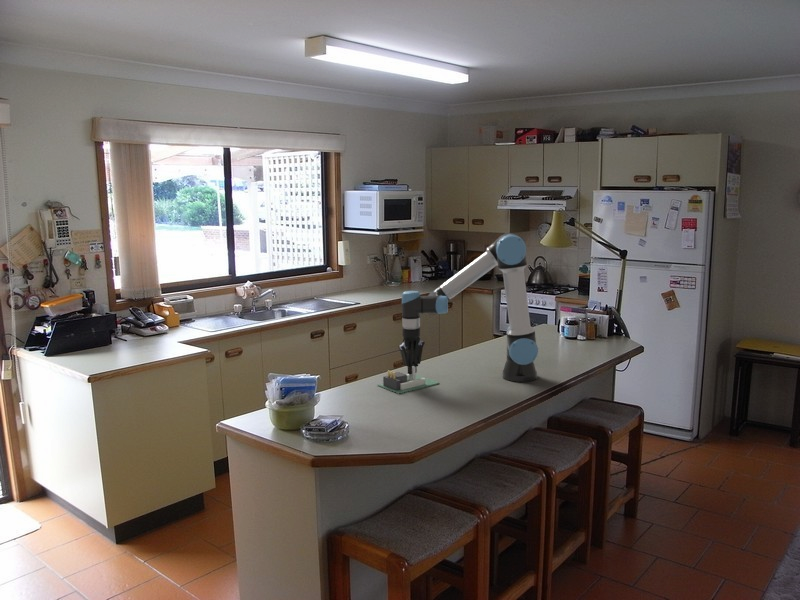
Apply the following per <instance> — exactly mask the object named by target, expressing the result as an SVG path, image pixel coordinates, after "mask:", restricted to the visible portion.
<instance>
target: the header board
mask: <svg viewBox="0 0 800 600" xmlns="http://www.w3.org/2000/svg"><path fill="white" fill-rule="evenodd" d="M405 374H406V375H407V382H404V383H400V380H398V379H396V376H395V371H392V370H390V369H389V370H387V375H385V376H383V377H382V378H383V379H382V383H378V384H377V387H379V386H380V388H382V387H383V388H382V389H384V388H385V390H387V389H388V390H387V391H389V390H390V392H392V391H393V392H392V393H395V392H396V393H395V394H397V393H401V394H404V392H405V393H409V392H412V390H413V391H417V390H420V389H425V388H429V387H433V386H437V385H440V382H439V381H436V380H432V379H430V378H427V377H424V376H422V375H418V374H416V380H412V381H409V374H408V373H405ZM390 375H391V377H390ZM408 391H409V392H408Z"/></svg>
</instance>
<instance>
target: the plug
mask: <svg viewBox="0 0 800 600" xmlns="http://www.w3.org/2000/svg"><path fill="white" fill-rule="evenodd" d="M394 372H395V371H394ZM406 374H407V373H403V372H400V371H396V372H395V376H396V379H398V380H400V383H404V382H407V375H406ZM390 377H391V375H390Z"/></svg>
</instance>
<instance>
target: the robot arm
mask: <svg viewBox="0 0 800 600" xmlns="http://www.w3.org/2000/svg"><path fill="white" fill-rule="evenodd" d="M526 255H527V246H526V243H525V241H524V239H522V237H520V236H519V235H518V234H516V233H513V232H506V233H503V234H501V235H500V236H499V237H498V238H496V240H495V241H493V243H491V244H490V245H489V246H487V247H486V251H485V252H483V253H482V254H480V256H478V257H476V258H475V259H474V260H473V261H472V262H470V263H469V264H467V265H466V266H465V267H463V268H462V269H460V270H459V271H458V272H456V273H455V274H454V275H453V276H451V277H450V278H449V279H447V280H446V281H444V282H443V283H442V284H441V285H439V286H438V287H437V288H435V289H433V290H431V291H430V292H429V293H428V295H420V292H419V291H418V290H405V291H403V292H402V294H401V320H402V323H401V324H402V337H403V340H402V343H401V344H399V345H398V346H397V347H398V349H399V350H400V355H401V358H402V364H403V366H405V367H407V374H409V381H412V380H416V375H417V371H418V370H417V367H419V365H420V364H421V362H422V361H421V360H422V355H423V347H424V345H425V343H426V342H425V341H423V340H421V338H420V337H421V316H420V315H423V314H424V315H426V314H428V315H429V314H430V315H431V314H434V315H441V314H443V315H444V314H447V313H448V312H449V304H448V303H449V301H450V300H452V299H453V298H455V297H456V296H457V295H458V294H460V293H461V292H462V291H464V290H465V289H466V288H468V287H469V286H471V285H472V284H473V283H475V282H476V281H477V280H479V279H480V278H482V277H483V276H484V275H486V274H487V273H488V272H490V271H491V270H492V269H494V268H495V267H498V270H499V271H501V272H502V278H503V285H504V293H505V300H506V301H505V302H506V309H507V319H508V327H507V329H506V333H505V334H506V360H505V363H504V367H503V369H502V374H501V375H502V376H501V377H502V378H503V379H504V380H506V381H509V380H510V382H515V381H516V382H517V383H519V382H520V383H525V382H533V381H536V380H537V379H538V372H537V370H536V366H535V363H534V362H535V360H536V358H537V357H538V354H539V347H538V344H537V339H536V330H535V328H534V327H532V326H531V321H530V320H531V318H530V311H529V302H528V295H527V286H526V279H525V278H526V276H525V268H526V267H527V266H528V263H527V262H528V261H527V256H526ZM535 379H536V380H535Z"/></svg>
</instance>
